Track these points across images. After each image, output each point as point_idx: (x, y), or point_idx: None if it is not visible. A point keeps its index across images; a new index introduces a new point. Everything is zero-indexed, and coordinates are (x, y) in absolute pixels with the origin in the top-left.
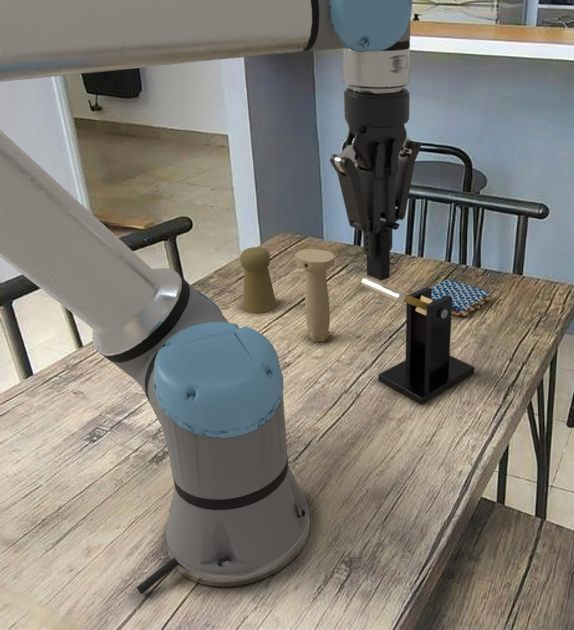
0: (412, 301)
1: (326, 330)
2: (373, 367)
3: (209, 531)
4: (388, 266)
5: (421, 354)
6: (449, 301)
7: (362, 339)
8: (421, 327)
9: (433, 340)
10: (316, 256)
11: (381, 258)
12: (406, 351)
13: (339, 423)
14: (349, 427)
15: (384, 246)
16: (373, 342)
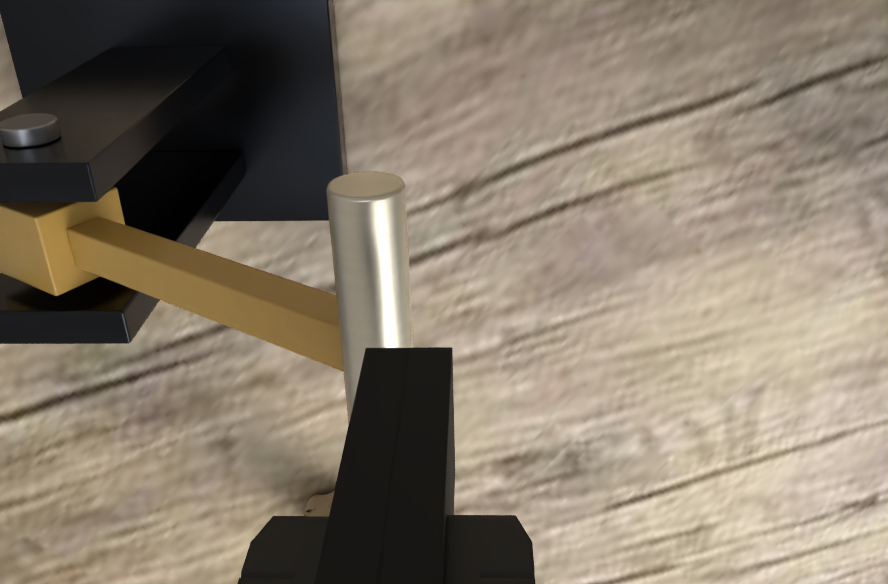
0: (172, 252)
1: (321, 514)
2: (306, 281)
3: None
4: (366, 403)
5: (161, 170)
6: None
7: (224, 425)
8: None
9: (147, 97)
10: None
11: (443, 465)
12: (223, 202)
13: (629, 111)
14: (622, 68)
15: (394, 544)
16: (204, 390)
